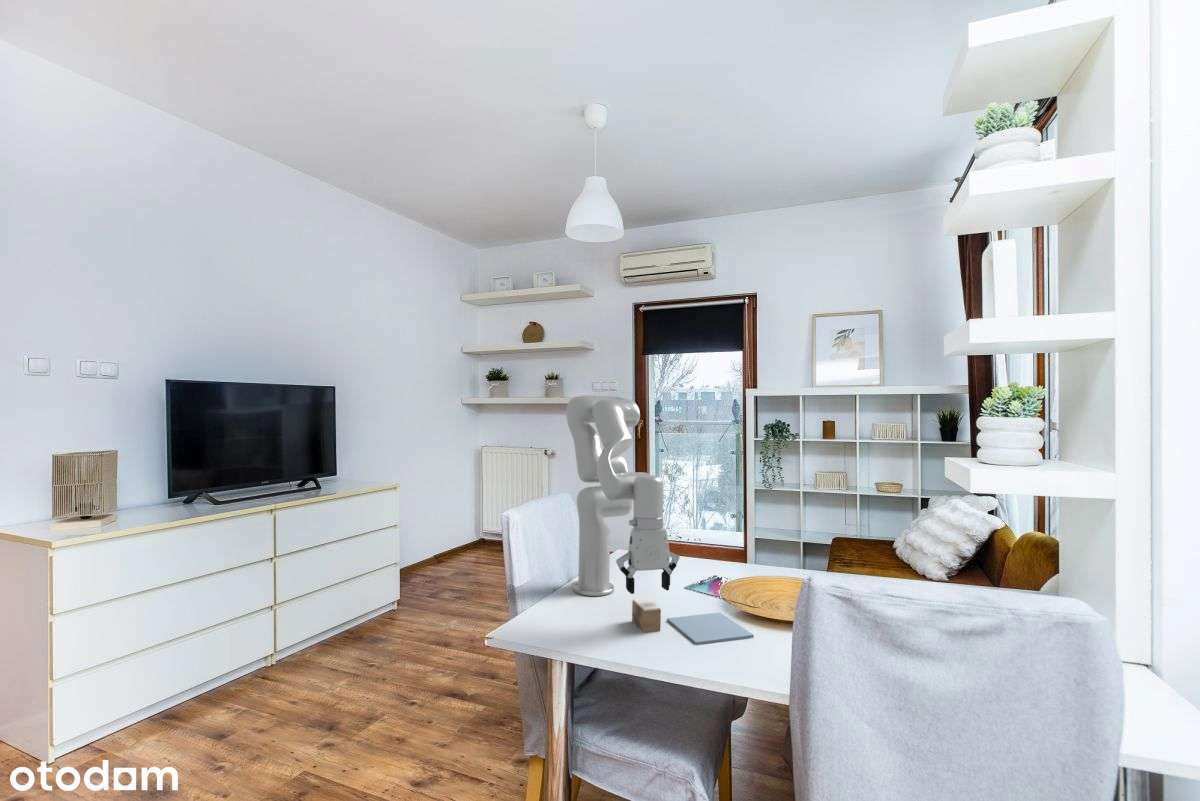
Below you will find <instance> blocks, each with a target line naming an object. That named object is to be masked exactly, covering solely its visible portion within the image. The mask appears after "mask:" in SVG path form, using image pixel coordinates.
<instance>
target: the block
mask: <svg viewBox="0 0 1200 801" xmlns="http://www.w3.org/2000/svg"><path fill="white" fill-rule="evenodd" d="M631 606H632V607H631V608H632V609H631V621H632V623H633V624H634V625H635V626H636V627H637V628H638V629H639V630H640V631H641V632H642V633H643V634H648V633H659V632H661V621H662V620H661V619H662V616H661V615H662V609H661V607H660V606H659V605H658V604H656V602H654V601H653V600H652V599H650V598H649V597H643V598H642V597H641V598H633V599H632V605H631Z"/></svg>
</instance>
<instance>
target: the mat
mask: <svg viewBox="0 0 1200 801" xmlns="http://www.w3.org/2000/svg"><path fill="white" fill-rule="evenodd" d="M666 620H667V622H668V623H670V624H671V625H672V626H673V627H674V628H676V630H678V631H679V632H680V633H682V635H684V637H686V638H687V639H689V640H690V641H691V642H692V643H694V645H696V646H697V645H704V644H705V645H706V644H713V643H719V642H727V641H728V642H729V641H736V640H743V639H751V637H752V638H754V637H755V636H754V635H755V634H753V633H752V632H750V631H749V630H747V629H746V628H745V627H743V626H741V625H740V624H738V623H737V622H735V621H734V620H732V619H731V618H729V617H728V616H726V615H725V614H723V613H722V612H711V613H702V614H701V613H700V614H693V615H686V616H683V615H682V616H675V617H667V618H666Z"/></svg>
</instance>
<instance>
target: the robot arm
mask: <svg viewBox="0 0 1200 801" xmlns="http://www.w3.org/2000/svg"><path fill="white" fill-rule="evenodd" d="M640 420H641V412H640V408H639V406H638V405H637V403H636V401H634V400H632V399H629V398H626V397H625V398H624V397H620V396H615V395H614V396H611V395H578V396H574V397H573V398H571V399H569V400H568V402H567V405H566V421H567V422H566V423H567V426H568V429H569V431H570V434H571V436H572V440H573V444H574V453H575V460H576V468H577V474H578V477H579V479H580V481H582V483H588V484H593V483H599V484H600V485H599V486H598V485H595V486H588V487H585V488H583V489H581V490H580V491H579V492H578V494H577V496H576V508H577V514H578V526H579V527H578V529H579V530H578V531H579V532H578V578H577V579H578V580H577V582H575V583H573V586H572V589H573V590H572V591H573V592H575V593H576V594H580V595H583V596H589V597H590V596H591V597H599V596H600V597H601V596H607V595H610V594H612V593H614V591H615V585H614V584H613V583H611V582H610V567H611V566H610V562H611V560H610V559H611V558H610V557H611V555H610V554H611V531H610V528H609V527H608V525H607V524H606V522H605V521H604V518H612V517H613V518H614V517H615V518H616V517H622V516H627V515H628V514H630V513H631V511H632V508H633V517H632V519H630V520H629V521H628V525H629V526H632V527H633V528H631V530H630V536H629V541H628V542H629V543H628V548H627V550H628V552H626V553H624V554H623V555H621V556H620V557H618V558H617V559H616V560H615V562H616V564H617V566H618V568H619V570H620V572H622V573H623V575H624V576H625V589H626V590H627V592H629V593H630V594H631V595H634V594H635V578H634V575H635V573H636V572H637V571H642V572H643V571H655V570H656V571H657V570H662V572H661V588H662V589H663V590H664V591H669V590H670V586H671V575H672V574H673V571H674V570H675V569H676V568H677V564H678V562H679V561H680V558H681V557H680V556H679V555H678V554H677V553H674V552H672V551H671V550H670V543H669V537H668V531H667V529H666V528H664V479H663V478H662V477H661V476H659V475H653V474H650V473H648V472H645V471H644V472H643V471H641V472H640V471H638V472H637V471H636V472H633V471H631V472H629V468H628V463H627V461H626V458H625V457H624V456H623V455H622V454H624V453H625V452H626V451H627V450H629V449H630V448H631V446H632V444H633V438H632V435H631V432H630V430H629V428H634V427H636V426H637V425H638V424H639V422H640ZM590 423H594V424H595V426H596V429H595V428H594V427H593V426H592V425H591V424H590ZM596 430H597V431H596ZM602 447H603V448H602ZM670 558H671V559H670ZM670 560H671V561H670ZM626 562H627V564H628V566H627V568H626V567H625V563H626Z"/></svg>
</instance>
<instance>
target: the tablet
mask: <svg viewBox="0 0 1200 801" xmlns="http://www.w3.org/2000/svg"><path fill="white" fill-rule="evenodd" d="M712 576H713V577H712ZM717 576H718V575H711V576H710V577H707V578H708V579H707V580H706V578H704V579H705V580H704V579H701V580H699V581H700V583H698V582H699V581H696V582H697V583H698V584H697V583H696V582H693V583H691V584H688V585H686V586H684V587H683V588H684V589H685V590H688V589H689V590H688V591H691V590H693V591H692V592H695V591H697V592H696V593H699V592H700V594H702V593H704V594H703V595H706V594H707V595H706V596H710V595H711V596H710V597H713V596H715V597H714V598H717V597H719V598H718V599H721V598H720V594H719V590H720V587H721V585H722V584H723V582H721V580H722V577H723V576H721V578H719V577H717ZM711 577H712V578H711ZM716 577H717V578H716ZM724 578H726V579H727V580H728V578H729V577H724ZM729 579H730V580H731V579H732V578H729ZM726 582H727V581H725V583H726ZM695 583H696V584H695ZM719 583H720V585H719Z"/></svg>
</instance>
